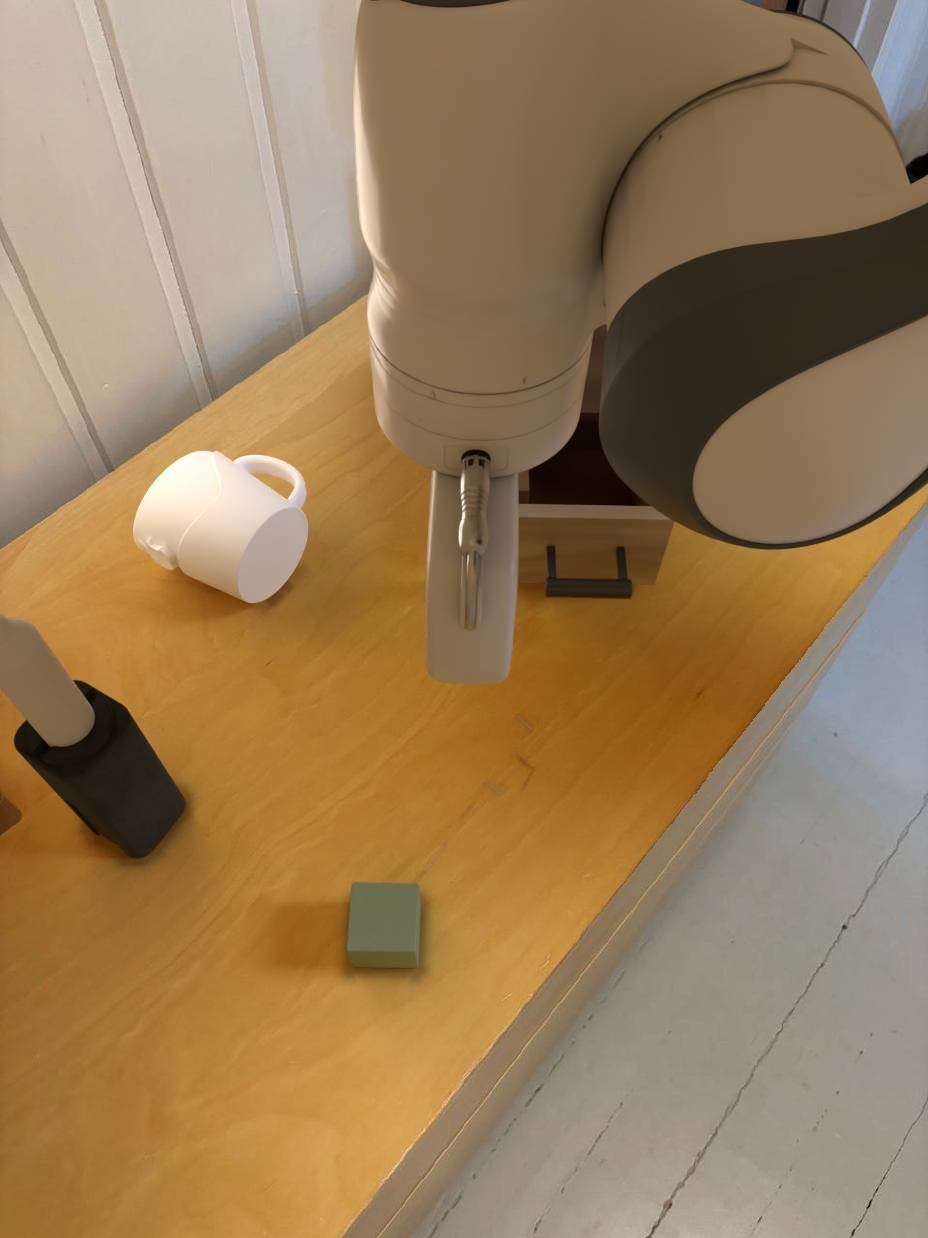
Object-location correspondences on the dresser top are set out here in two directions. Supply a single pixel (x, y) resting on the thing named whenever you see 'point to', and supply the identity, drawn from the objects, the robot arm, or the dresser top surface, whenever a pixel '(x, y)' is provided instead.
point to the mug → (225, 523)
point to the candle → (86, 745)
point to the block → (384, 925)
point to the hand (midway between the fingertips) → (471, 569)
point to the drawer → (586, 525)
